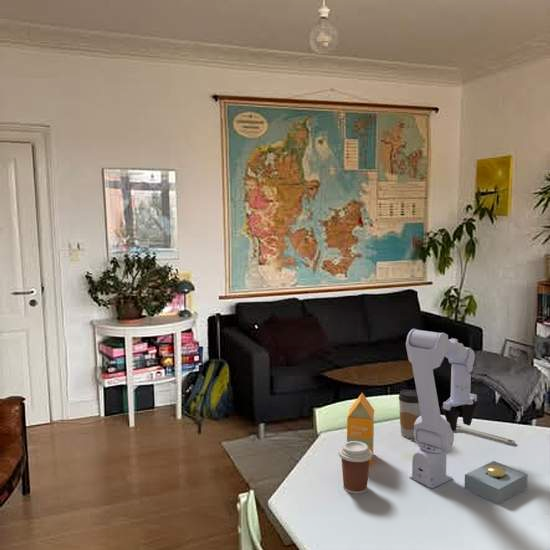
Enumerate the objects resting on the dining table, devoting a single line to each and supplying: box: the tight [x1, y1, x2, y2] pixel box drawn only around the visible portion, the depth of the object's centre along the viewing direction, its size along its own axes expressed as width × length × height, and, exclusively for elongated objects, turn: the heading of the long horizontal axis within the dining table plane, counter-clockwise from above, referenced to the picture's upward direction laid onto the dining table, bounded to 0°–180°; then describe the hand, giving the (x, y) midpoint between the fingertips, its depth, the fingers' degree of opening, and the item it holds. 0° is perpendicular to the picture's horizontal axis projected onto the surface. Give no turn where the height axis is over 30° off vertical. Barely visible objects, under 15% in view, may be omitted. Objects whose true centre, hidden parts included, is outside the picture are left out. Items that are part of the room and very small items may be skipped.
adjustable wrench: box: [453, 423, 516, 446], centre depth 179 cm, size 25×6×2 cm, turn 43°
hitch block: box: [463, 460, 528, 505], centre depth 143 cm, size 14×10×4 cm
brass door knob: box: [486, 465, 506, 479], centre depth 143 cm, size 5×5×6 cm
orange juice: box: [346, 392, 375, 467], centre depth 160 cm, size 8×9×20 cm
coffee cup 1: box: [338, 441, 372, 495], centre depth 143 cm, size 9×9×12 cm
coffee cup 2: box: [398, 389, 421, 439], centre depth 179 cm, size 8×8×15 cm
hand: (459, 427), depth 162 cm, fingers open, 7 cm apart
